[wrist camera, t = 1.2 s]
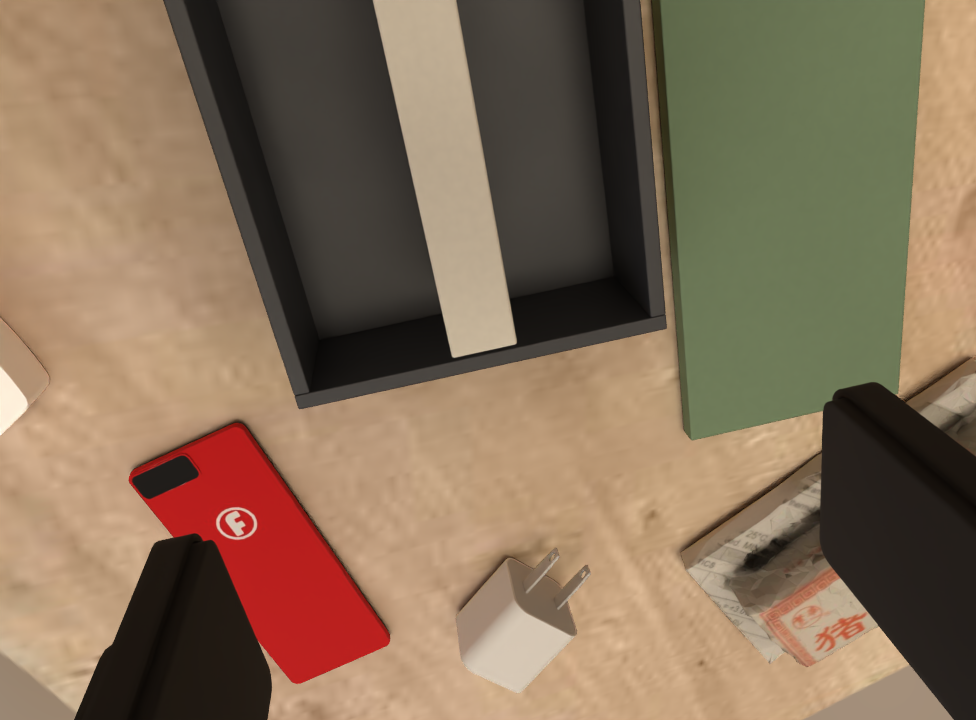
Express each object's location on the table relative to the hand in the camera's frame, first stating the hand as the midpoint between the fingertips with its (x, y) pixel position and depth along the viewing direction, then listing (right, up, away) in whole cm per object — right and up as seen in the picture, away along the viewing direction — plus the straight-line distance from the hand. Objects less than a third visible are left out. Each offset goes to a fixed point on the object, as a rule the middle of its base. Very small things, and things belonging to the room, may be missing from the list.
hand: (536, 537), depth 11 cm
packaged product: (+19, -5, +30) cm, 36 cm away
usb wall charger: (+1, -9, +29) cm, 30 cm away
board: (-3, +12, +18) cm, 22 cm away
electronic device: (-11, -7, +26) cm, 29 cm away
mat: (+12, +10, +21) cm, 27 cm away
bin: (-3, +12, +18) cm, 22 cm away
